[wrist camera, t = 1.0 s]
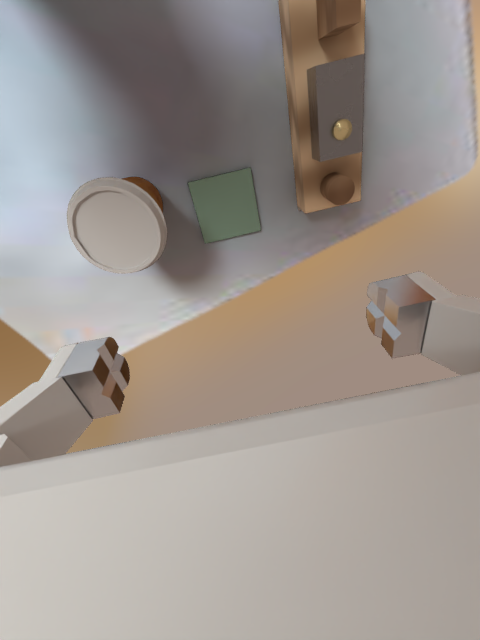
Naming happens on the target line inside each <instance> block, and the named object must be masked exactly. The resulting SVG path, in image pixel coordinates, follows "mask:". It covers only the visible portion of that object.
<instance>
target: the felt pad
mask: <svg viewBox="0 0 480 640" xmlns="http://www.w3.org/2000/svg"><path fill="white" fill-rule="evenodd" d="M188 185H189V189H190V193H191V196H192V200H193V203H194V207H195V210H196V214H197V217H198V221H199V224H200V228H201V232H202V235H203V239H204V242H205V244H206V243H210V242H214V241H218V240H223V239H227V238H231V237H236V236H240V235H244V234H248V233H253V232H257V231H261V228H260V222H259V216H258V210H257V204H256V198H255V192H254V186H253V180H252V174H251V168H246V169H241V170H237V171H233V172H229V173H225V174H221V175H217V176H213V177H208V178H204V179H200V180H196V181H192V182H188Z"/></svg>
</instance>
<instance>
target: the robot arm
mask: <svg viewBox="0 0 480 640" xmlns="http://www.w3.org/2000/svg"><path fill="white" fill-rule="evenodd" d="M367 296H368V297H369V298H370V299H371V300H372V301H371V302H370V303H369V305H368V306H367V307H366V318H367V321H368V325H369V328H370V330H371V331H372V332H373V334H374V335H375V336H377V337H380V338H382V341H381V344H382V346H383V347H384V348H385V350H386V351H387V352H388V354H389V355H390V356H391V357H392V358H397V357H403V356H409V355H414V354H420V353H421V355H423V356H425V357H427V358H429V359H431V360H433V361H435V362H437V363H439V364H441V365H442V366H444V367H446V368H449V369H450V370H452V371H454V372H456V373H458V374H460V375H461V376H456V377H452V378H447V379H442V380H437V381H432V382H427V383H421V384H416V385H411V386H406V387H401V388H396V389H391V390H386V391H381V392H376V393H371V394H366V395H361V396H355V397H351V398H345V399H341V400H335V401H330V402H325V403H320V404H315V405H310V406H305V407H300V408H295V409H290V410H285V411H280V412H275V413H270V414H265V415H260V416H255V417H250V418H245V419H240V420H235V421H230V422H225V423H220V424H214V425H210V426H205V427H200V428H194V429H189V430H184V431H179V432H175V433H169V434H164V435H160V436H154V437H150V438H145V439H139V440H134V441H129V442H124V443H119V444H113V445H108V446H103V447H98V448H94V449H88V450H83V451H78V452H73V453H68V454H65V453H66V452H67V451H68V450H69V449H70V447H71V446H72V445H73V444H74V443H75V442H76V440H77V439H78V438H79V437H80V436H81V434H82V433H83V432H84V431H85V430H86V428H87V427H88V426H89V425H90V424H91V422H92V421H93V420H92V419H96V418H101V417H105V416H109V415H113V414H118V413H120V410H121V407H122V404H123V401H124V397H125V396H124V394H123V392H122V391H123V390H124V389H125V388H126V387H127V386H128V383H129V379H130V374H129V373H130V372H129V367H128V363H127V361H126V359H125V358H124V357H123V356H121V355H119V354H118V353H117V351H118V348H119V346H118V345H117V343H116V341H115V340H114V339H113V338H111V337H106V338H101V339H95V340H90V341H85V342H80V343H74V344H70V345H65V346H63V347H61V348H60V349H59V351H58V352H57V354H56V355H55V357H54V359H53V360H52V362H51V363H50V365H49V366H48V368H47V370H46V371H45V373H44V374H43V376H42V378H41V379H40V380H39V382H35V383H33V384H31V385H30V386H29V387H27V388H26V389H24V390H23V391H22V392H20V393H19V394H17V395H16V396H15V397H14V398H12V399H11V400H9V401H8V402H6V403H5V404H4V405H3V406H1V407H0V640H480V299H479V298H474V297H470V296H466V295H458V296H456V295H455V294H453V293H452V292H451V291H449V290H448V289H446V288H445V287H443V286H442V285H440V284H439V283H438V282H436V281H435V280H434V279H432V278H431V277H430V276H428V275H427V274H425V273H424V272H419V271H418V272H414V273H411V274H406V275H402V276H398V277H394V278H390V279H385V280H381V281H377V282H373V283H370V284H369V286H368V291H367Z"/></svg>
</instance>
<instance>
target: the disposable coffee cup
mask: <svg viewBox="0 0 480 640" xmlns="http://www.w3.org/2000/svg"><path fill="white" fill-rule="evenodd" d="M67 224H68V229H69V234H70V237H71V239H72V242H73V243H74V245H75V247H76V248H77V250H78V251H79V252H80V253H81V255H82V256H83V257H84V258H85V259H87V260H88V261H89V262H90V263H92V264H93V265H95V266H97V267H99V268H101V269H103V270H105V271H109V272H113V273H121V274H125V273H133V272H137V271H141V270H143V269H146V268H148V267H149V266H151V265H152V264H154V263H155V262H156V261H157V260H158V259H159V257H160V256H161V254H162V253H163V251H164V248H165V245H166V241H167V226H166V222H165V218H164V216H163V202H162V198H161V196H160V194H159V192H158V190H157V189H156V187H155V186H154V185H153V184H151V183H150V182H149V181H147V180H145V179H143V178H139V177H128V178H122V179H118V178H113V177H109V178H97V179H94V180H91V181H89V182H87V183H85V184H84V185H82V186H80V187H79V189H78V190H77V191H76V192H75V193H74V194H73V196H72V198H71V200H70V202H69V204H68V210H67Z"/></svg>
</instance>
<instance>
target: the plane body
mask: <svg viewBox="0 0 480 640" xmlns="http://www.w3.org/2000/svg"><path fill="white" fill-rule="evenodd" d="M278 2H279V13H280V23H281V34H282V45H283V56H284V66H285V77H286V88H287V99H288V110H289V120H290V131H291V142H292V153H293V163H294V174H295V185H296V196H297V206H298V211H301V210H302V211H303V212H304V213H305V214H306V213H310V212H314V211H319V210H323V209H327V208H331V207H336V206H340V205H344V204H348V203H353V202H357V201H361V168H362V152H360V153H355V154H351V155H347V156H343V157H339V158H335V159H331V160H326V161H322V162H319V161H317V160H314V159H312V150H311V134H310V117H309V101H308V84H307V69H310V68H312V67H314V66H317V65H321V64H325V63H329V62H333V61H337V60H341V59H345V58H349V57H353V56H357V55H361V54H364V36H365V0H279V1H278Z"/></svg>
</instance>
